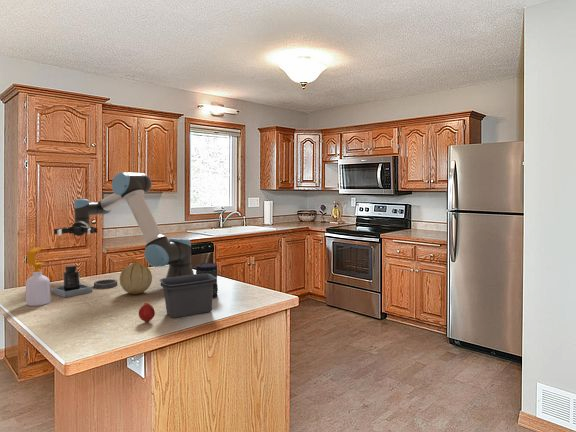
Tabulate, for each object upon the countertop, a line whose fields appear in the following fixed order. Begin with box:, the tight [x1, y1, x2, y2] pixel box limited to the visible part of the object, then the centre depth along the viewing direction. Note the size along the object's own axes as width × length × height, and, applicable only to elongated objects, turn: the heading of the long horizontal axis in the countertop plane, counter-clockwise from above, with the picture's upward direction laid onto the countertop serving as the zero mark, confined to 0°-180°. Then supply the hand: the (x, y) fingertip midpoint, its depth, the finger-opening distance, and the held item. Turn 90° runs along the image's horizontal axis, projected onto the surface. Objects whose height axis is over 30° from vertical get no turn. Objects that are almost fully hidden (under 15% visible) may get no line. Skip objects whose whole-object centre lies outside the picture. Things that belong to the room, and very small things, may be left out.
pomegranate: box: [138, 301, 156, 323], centre depth 160 cm, size 6×6×8 cm
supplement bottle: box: [63, 264, 80, 291], centre depth 204 cm, size 7×7×12 cm
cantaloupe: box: [119, 261, 153, 295], centre depth 202 cm, size 15×15×15 cm
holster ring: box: [93, 279, 118, 289], centre depth 217 cm, size 11×11×2 cm
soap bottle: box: [25, 246, 51, 307], centre depth 185 cm, size 9×9×25 cm
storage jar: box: [195, 262, 219, 300], centre depth 197 cm, size 10×10×15 cm
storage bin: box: [159, 273, 216, 319], centre depth 173 cm, size 21×16×14 cm
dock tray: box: [51, 283, 93, 298], centre depth 204 cm, size 13×13×2 cm
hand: (73, 232), depth 211 cm, fingers open, 13 cm apart
